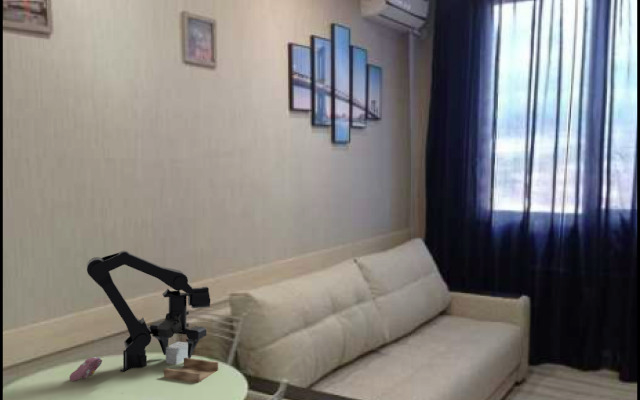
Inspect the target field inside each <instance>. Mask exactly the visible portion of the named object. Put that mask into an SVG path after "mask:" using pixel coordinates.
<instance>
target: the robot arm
mask: <svg viewBox="0 0 640 400" xmlns="http://www.w3.org/2000/svg"><path fill="white" fill-rule="evenodd" d="M122 266H126V267H130V268H132V269H135V270H136V271H139V272H141V273H144V274H146V275H149V276H152V277H154V278H155V279H158V280H160V281H161V282H162V283H164V285H167V286H168V287H170V288H171V289H172V290H170V289H169V288H166V290H165V291H164V292H163V293H162V296H163V298H168V312H167V313H166V315H165V319H164V320H163V321H157V322H155V323H152V324H151V325H148V324H147V323H146V320H145V318H144V317H142V318H141V319H139V318H138V317H137V316H136V315H135V313H134V312H133V309H131V307H130V305H129V304H128V302H127V301H126V299H125V298H124V296H123V294H122V292H121V291H120V290H119V288H118V287H117V285H116V284H115V282H114V280H113V278H112V275H111V273H110V272H111V271H114V270H115V269H118V268H120V267H122ZM86 272H87V274H88V276H89V277H90V278H91V279H92V280H93V281H94V282H95V283H96V284H97V285H98V286H99V287H100V288H101V289H102V290H103V292H104V293H105V295H106V297H107V298H108V299H109V300H110V302H111V304H112V306H113V307H114V309H115V310H116V311H117V313H118V315H119V316H120V318H121V319H122V321H123V322H124V324H125V325H126V329H127V330H128V334H129V336H128V337H127V338H126V339H125V340H124V341H123V343H124V347H125V348H124V350H123V352H122V354H123V355H122V357H123V358H122V360H123V361H122V362H123V367H122V368H120V369H119V371H120V372H124V373H125V372H127V371H129V370H131V369H143V368H145V367H146V366H147V361H148V360H147V359H148V358H147V357H148V356H147V354H146V351H147V350H146V347H148V345H150V343H151V342H152V337H153V338H155V339H156V340H157V341H158V343H159V346H160V348H161V350H162V354H163V355H164V356H166V347H168V346H169V339H170V338H172V337H173V336H174V335H179V334H181V335H186V338H187V339H186V340H185V342H186V343H188V358H192V356H193V354H194V351H195V349H196V346H197V344H198V343H199V341H200V340H201V339H203V338H204V337H206V336H207V329H206V327H203V326H194V327H190V328H189V326H190V325H189V322H188V323H187V316H189V313H190V312H189V311H188V310H187V305H188V306H190V307H191V309H201V308H202V309H203V308H210V306H211V296H210V291H209V289H210V288H209V287H208V286H202V287H192V285H190V283H188V282H189V281H188V280H189V279H188V277H187V275H186V274H185V273H184V272H183V271H181V270H180V269H175V268H171V267H165V266H160V265H158V264H156V263H154V262H151V261H149V260H147V259H144V258H141V257H140V256H137V255H135V254H132V253H130V252H129V251H128V250H121V251H119V252H117V253H113V254H110V255H106V256H103V257H99V256H96V257H92V258H90V259H89V260H88V262H87V264H86ZM181 291H183V292H181Z"/></svg>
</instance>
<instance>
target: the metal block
mask: <svg viewBox="0 0 640 400" xmlns="http://www.w3.org/2000/svg"><path fill="white" fill-rule="evenodd" d="M184 358H188V343H187V341H176V342H174V343H172V344H170V345H168V347H166V355H165V364H171V365H178V364H180V363H182V362H184Z"/></svg>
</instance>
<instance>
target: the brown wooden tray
mask: <svg viewBox="0 0 640 400" xmlns="http://www.w3.org/2000/svg"><path fill="white" fill-rule="evenodd" d="M218 371H219V362H218V361H213V360H212V361H211V360H206V359H197V358H192V357H191V358H184V361H183V365H182V366H181V367H179V368H178V369H175V368H174V369H173V368H163V379H170V380H177V381H182V382H183V381H185V382H189V383H190V382H191V383H200V382H202V381H203V380H205V379H207V378H208V377H210V376H212V375H213V374H214V373H217V372H218Z"/></svg>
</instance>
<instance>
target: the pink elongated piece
mask: <svg viewBox="0 0 640 400" xmlns="http://www.w3.org/2000/svg"><path fill="white" fill-rule="evenodd" d="M102 363H103V359H101V358H100V357H96V356H94V357H89V358H86V359H85V361H84V362H82V363H81V364H80V365H79V366H78V367H77V369H76V370H74V371H73V372H71V374H69V379H70V381H71V382H74V381H77V380H79V379H81V378H82V379H84V380H85V379H87V378H89V377H88V376H92V375H93V374H95V372H96V371H97V370H98V368H99V367H100V366H101V365H102Z"/></svg>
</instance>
